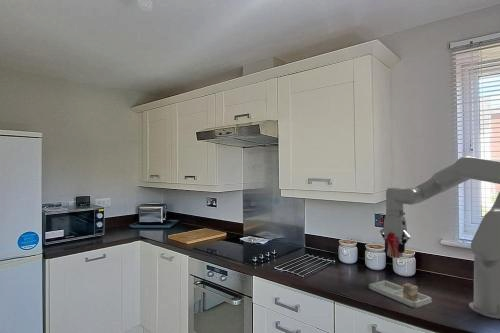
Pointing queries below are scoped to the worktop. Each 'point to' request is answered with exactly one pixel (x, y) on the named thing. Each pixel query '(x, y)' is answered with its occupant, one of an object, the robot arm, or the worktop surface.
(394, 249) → the soda can
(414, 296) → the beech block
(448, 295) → the worktop surface
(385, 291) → the organiser tray
